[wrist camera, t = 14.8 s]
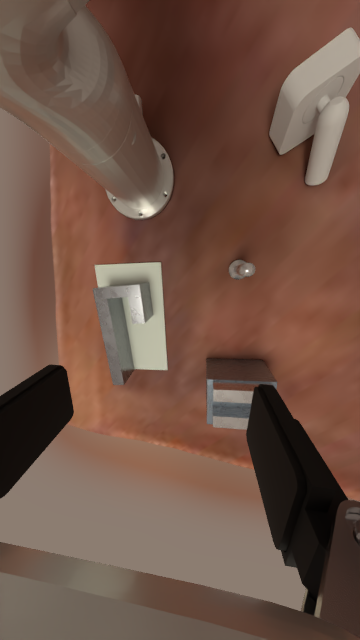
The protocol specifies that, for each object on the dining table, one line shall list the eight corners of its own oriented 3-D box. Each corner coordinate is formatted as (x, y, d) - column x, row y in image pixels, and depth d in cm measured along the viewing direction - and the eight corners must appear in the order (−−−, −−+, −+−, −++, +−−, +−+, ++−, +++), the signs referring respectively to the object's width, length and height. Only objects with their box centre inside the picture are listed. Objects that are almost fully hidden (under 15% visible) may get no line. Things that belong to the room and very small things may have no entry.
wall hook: (293, 202, 30) (327, 151, 20) (264, 150, 31) (283, 76, 21) (345, 171, 28) (410, 99, 18) (313, 117, 29) (360, 18, 19)
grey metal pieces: (206, 261, 35) (208, 258, 25) (272, 258, 33) (301, 253, 23) (206, 400, 43) (207, 440, 33) (258, 403, 42) (275, 445, 32)
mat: (95, 265, 38) (94, 265, 37) (161, 262, 36) (160, 262, 35) (111, 367, 44) (110, 368, 44) (167, 369, 42) (167, 370, 42)
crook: (109, 285, 38) (92, 288, 32) (149, 282, 37) (139, 284, 31) (125, 369, 43) (113, 384, 37) (160, 368, 42) (153, 384, 36)
